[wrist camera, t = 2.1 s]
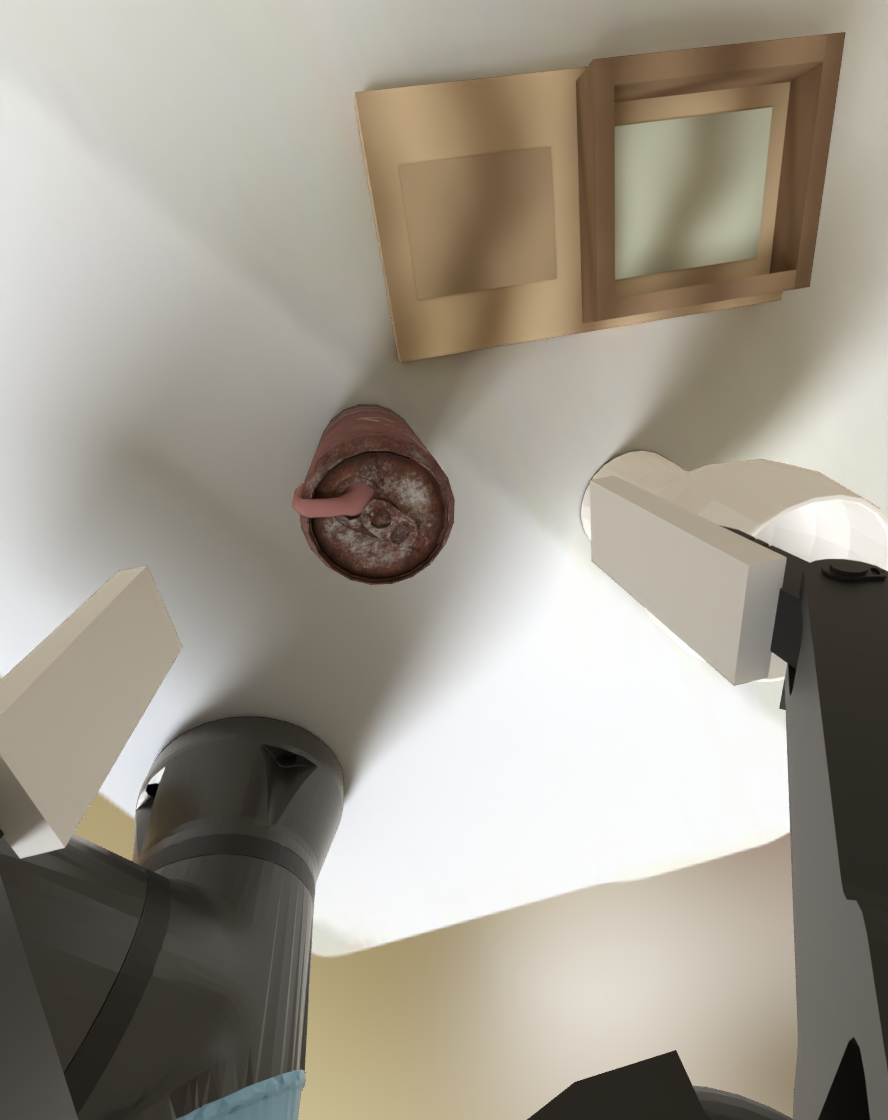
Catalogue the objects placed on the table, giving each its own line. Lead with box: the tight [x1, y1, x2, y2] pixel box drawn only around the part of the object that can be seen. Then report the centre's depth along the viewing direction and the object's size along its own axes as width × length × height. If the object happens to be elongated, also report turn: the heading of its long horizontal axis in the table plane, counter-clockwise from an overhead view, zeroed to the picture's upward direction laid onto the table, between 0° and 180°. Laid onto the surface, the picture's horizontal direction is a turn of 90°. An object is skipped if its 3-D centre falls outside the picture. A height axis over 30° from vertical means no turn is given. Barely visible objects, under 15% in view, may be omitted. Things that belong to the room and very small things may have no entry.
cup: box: [581, 451, 888, 682], centre depth 29 cm, size 11×11×15 cm
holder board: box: [355, 32, 845, 362], centre depth 26 cm, size 24×12×4 cm, turn 98°
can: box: [293, 404, 454, 585], centre depth 25 cm, size 6×6×14 cm
